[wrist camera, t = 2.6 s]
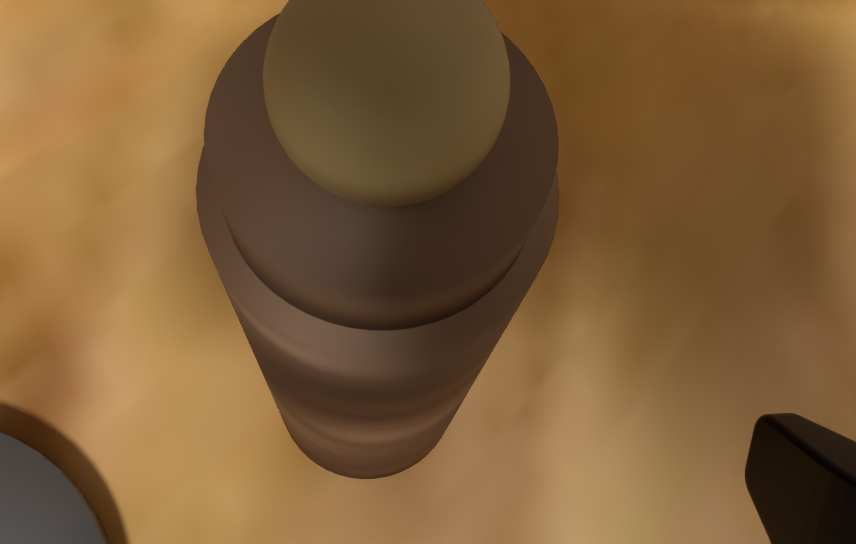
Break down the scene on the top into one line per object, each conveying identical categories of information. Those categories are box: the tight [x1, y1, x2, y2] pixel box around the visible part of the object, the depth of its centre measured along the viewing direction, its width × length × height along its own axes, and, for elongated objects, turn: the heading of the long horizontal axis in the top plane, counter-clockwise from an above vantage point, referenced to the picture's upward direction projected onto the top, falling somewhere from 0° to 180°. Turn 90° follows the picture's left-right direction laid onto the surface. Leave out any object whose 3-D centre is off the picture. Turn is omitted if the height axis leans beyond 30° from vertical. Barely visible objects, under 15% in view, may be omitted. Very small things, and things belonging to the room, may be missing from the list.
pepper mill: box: [196, 0, 559, 479], centre depth 13 cm, size 4×4×14 cm
